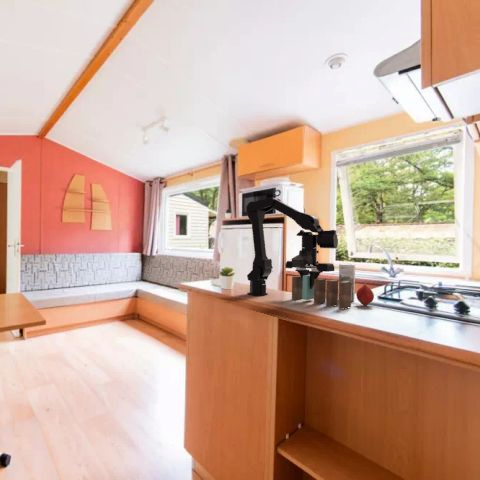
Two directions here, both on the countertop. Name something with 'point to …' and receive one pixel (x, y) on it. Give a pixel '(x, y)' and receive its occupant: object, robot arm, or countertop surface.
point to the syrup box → (348, 276)
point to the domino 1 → (297, 288)
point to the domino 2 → (307, 288)
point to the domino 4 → (331, 292)
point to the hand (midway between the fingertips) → (308, 288)
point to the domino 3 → (319, 291)
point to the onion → (365, 295)
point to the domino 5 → (344, 294)
